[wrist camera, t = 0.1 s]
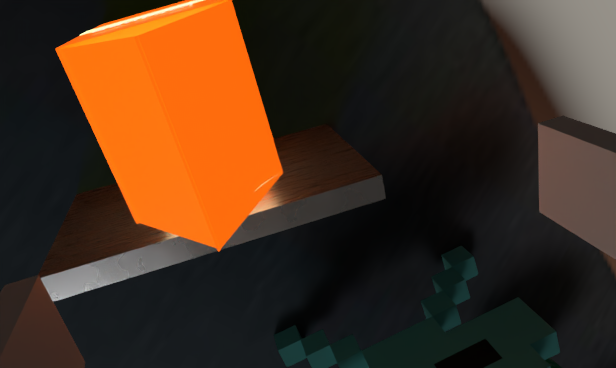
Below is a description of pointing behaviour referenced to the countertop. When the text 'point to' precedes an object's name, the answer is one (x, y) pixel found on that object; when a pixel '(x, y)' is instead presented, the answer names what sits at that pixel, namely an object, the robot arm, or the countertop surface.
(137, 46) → the orange juice
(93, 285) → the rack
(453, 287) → the alien figure
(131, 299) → the countertop surface
